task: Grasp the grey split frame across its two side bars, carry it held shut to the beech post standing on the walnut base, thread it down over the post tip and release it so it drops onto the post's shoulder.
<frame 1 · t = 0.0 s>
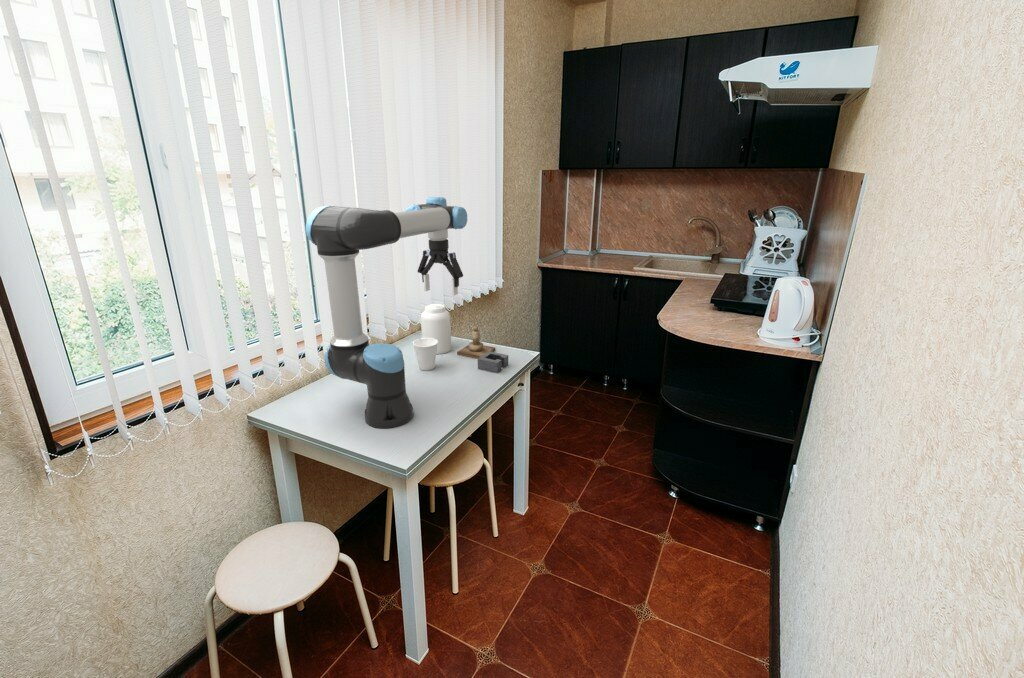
hand: (440, 292, 189), 28 cm above the table, fingers open, 13 cm apart
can: (437, 350, 207), on the table
cup: (426, 368, 189), on the table
grey split frame: (493, 367, 190), on the table
post fixture: (476, 352, 204), on the table
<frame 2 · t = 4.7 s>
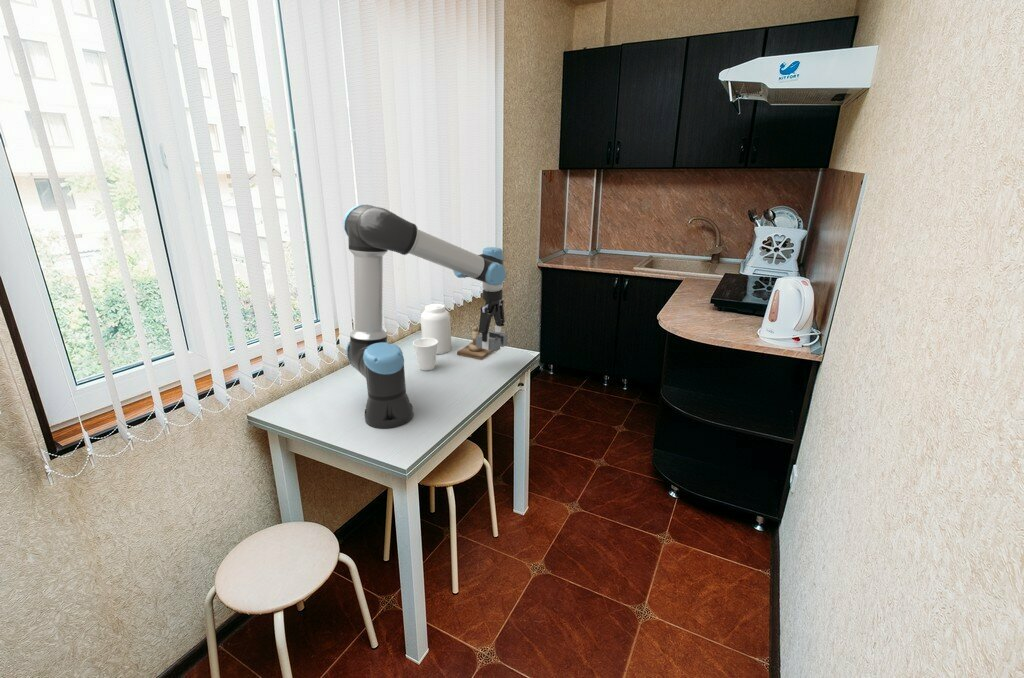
hand: (491, 345, 186), 10 cm above the table, fingers closed on grey split frame, 9 cm apart
grey split frame: (491, 345, 186), point 9 cm above the table, touching gripper
everything else where it was.
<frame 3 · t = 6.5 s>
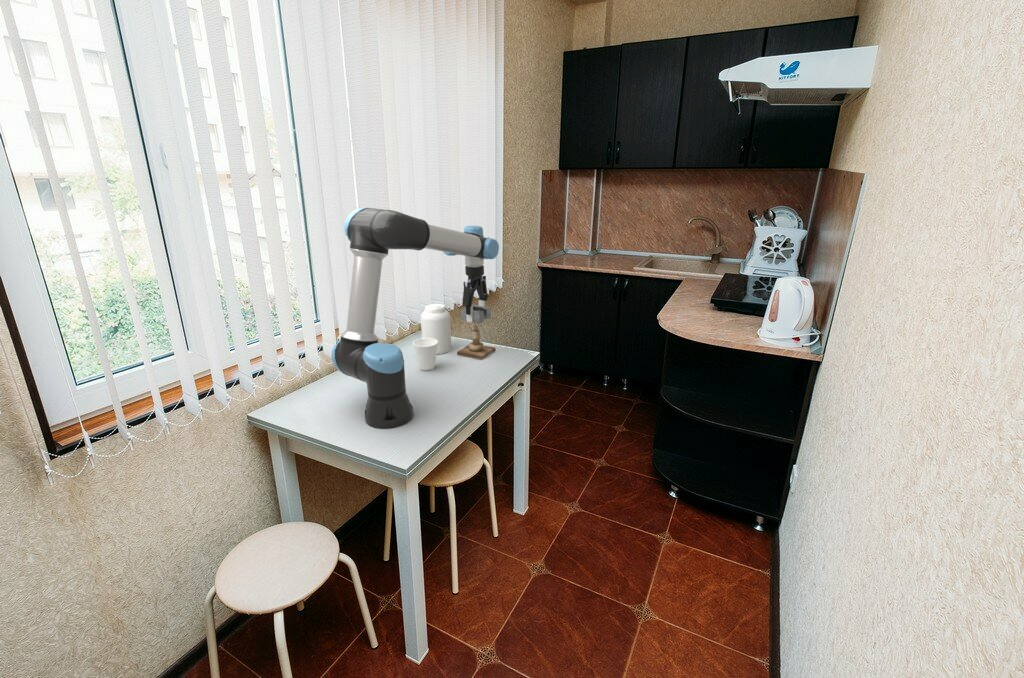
hand: (475, 318, 199), 16 cm above the table, fingers closed on grey split frame, 9 cm apart
grey split frame: (476, 318, 199), point 15 cm above the table, touching gripper
everything else where it was.
when the fingers open (6 cm above the table, at t = 8.5 s): grey split frame drops 2 cm, resting on post fixture.
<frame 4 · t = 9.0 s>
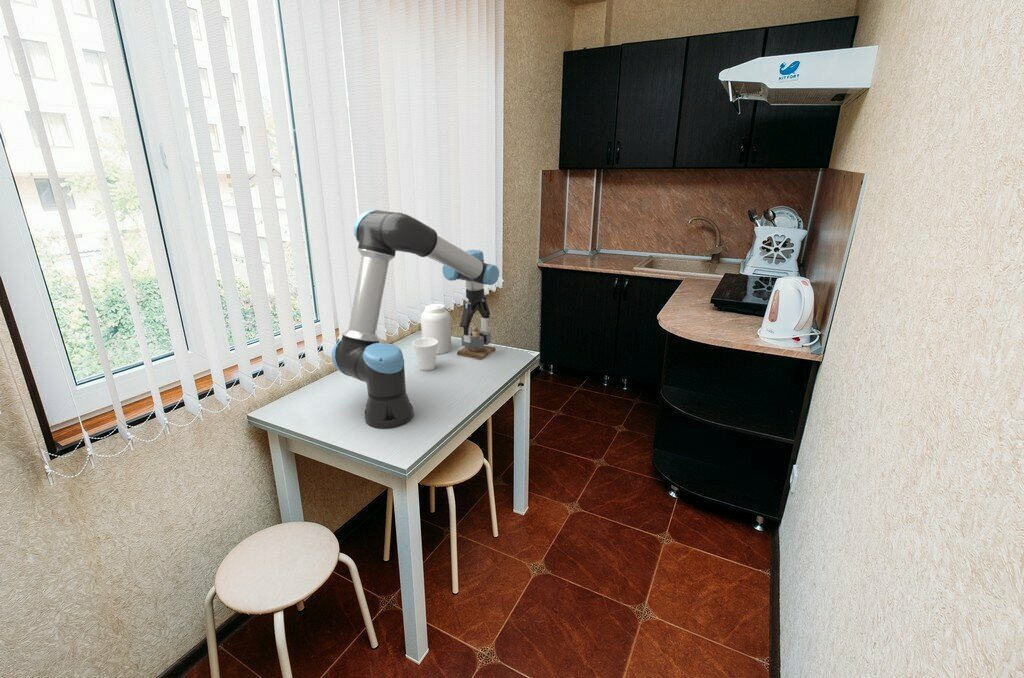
hand: (476, 337, 202), 7 cm above the table, fingers open, 13 cm apart
grey split frame: (476, 344, 203), point 4 cm above the table, touching post fixture
everything else where it was.
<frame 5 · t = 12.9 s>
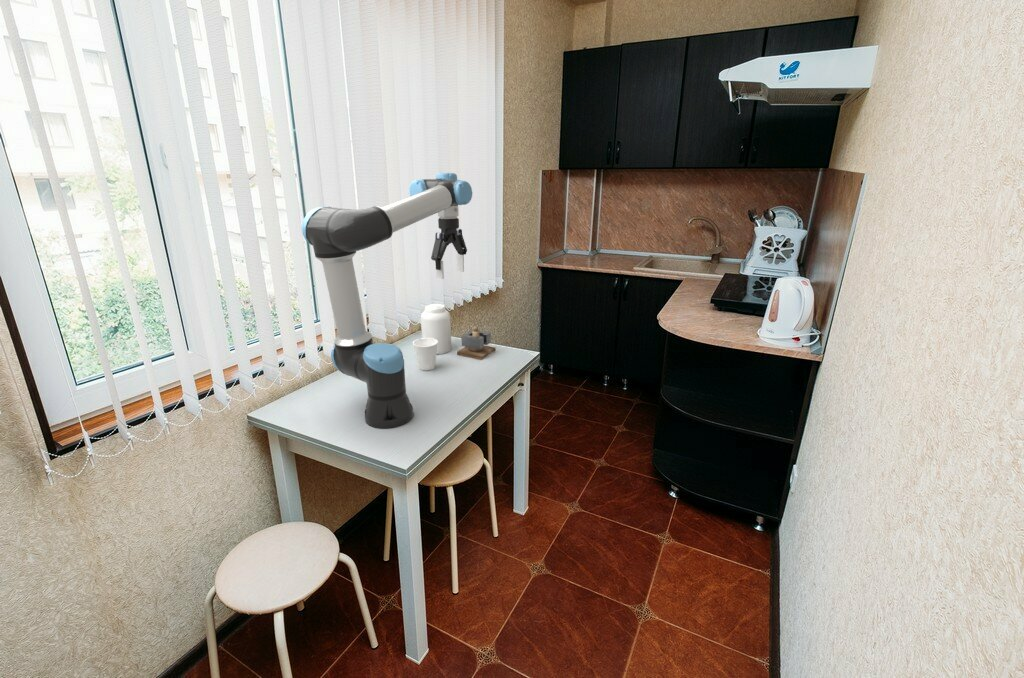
hand: (450, 274, 181), 37 cm above the table, fingers open, 13 cm apart
nothing on the table moved.
at the end: grey split frame 0.0 cm off-centre on the post fixture, point 4.0 cm above the post fixture's base; the gripper is holding nothing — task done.
